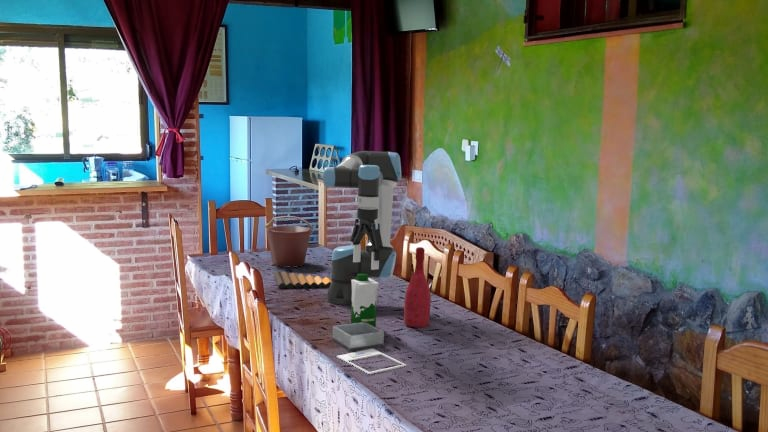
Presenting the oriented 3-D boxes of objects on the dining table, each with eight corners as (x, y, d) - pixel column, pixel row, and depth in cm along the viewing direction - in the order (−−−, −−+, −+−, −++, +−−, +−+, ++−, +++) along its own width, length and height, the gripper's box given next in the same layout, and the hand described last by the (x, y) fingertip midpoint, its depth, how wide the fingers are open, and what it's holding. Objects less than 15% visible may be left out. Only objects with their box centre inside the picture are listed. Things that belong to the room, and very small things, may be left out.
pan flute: (273, 277, 338) (278, 290, 314) (273, 270, 338) (278, 282, 314) (324, 276, 344) (333, 288, 320) (324, 269, 344) (333, 281, 320)
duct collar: (364, 335, 252) (365, 321, 252) (383, 346, 241) (384, 332, 241) (332, 340, 246) (332, 326, 245) (349, 351, 235) (350, 336, 234)
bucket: (259, 266, 358) (260, 217, 355) (273, 258, 380) (273, 212, 376) (305, 269, 354) (307, 220, 351) (317, 261, 376) (318, 215, 372)
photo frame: (373, 348, 237) (406, 364, 223) (372, 351, 237) (406, 367, 223) (336, 355, 228) (368, 372, 214) (336, 358, 229) (368, 376, 214)
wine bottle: (433, 323, 270) (437, 247, 266) (423, 330, 262) (427, 251, 257) (409, 319, 274) (413, 244, 270) (399, 326, 266) (403, 247, 261)
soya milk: (368, 323, 267) (370, 272, 264) (379, 330, 259) (381, 277, 256) (347, 326, 263) (349, 273, 260) (357, 333, 255) (359, 279, 252)
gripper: (342, 204, 263) (340, 259, 266) (376, 212, 242) (373, 273, 245) (360, 203, 267) (358, 258, 270) (394, 212, 246) (392, 271, 248)
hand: (365, 265), depth 257 cm, fingers open, 13 cm apart
